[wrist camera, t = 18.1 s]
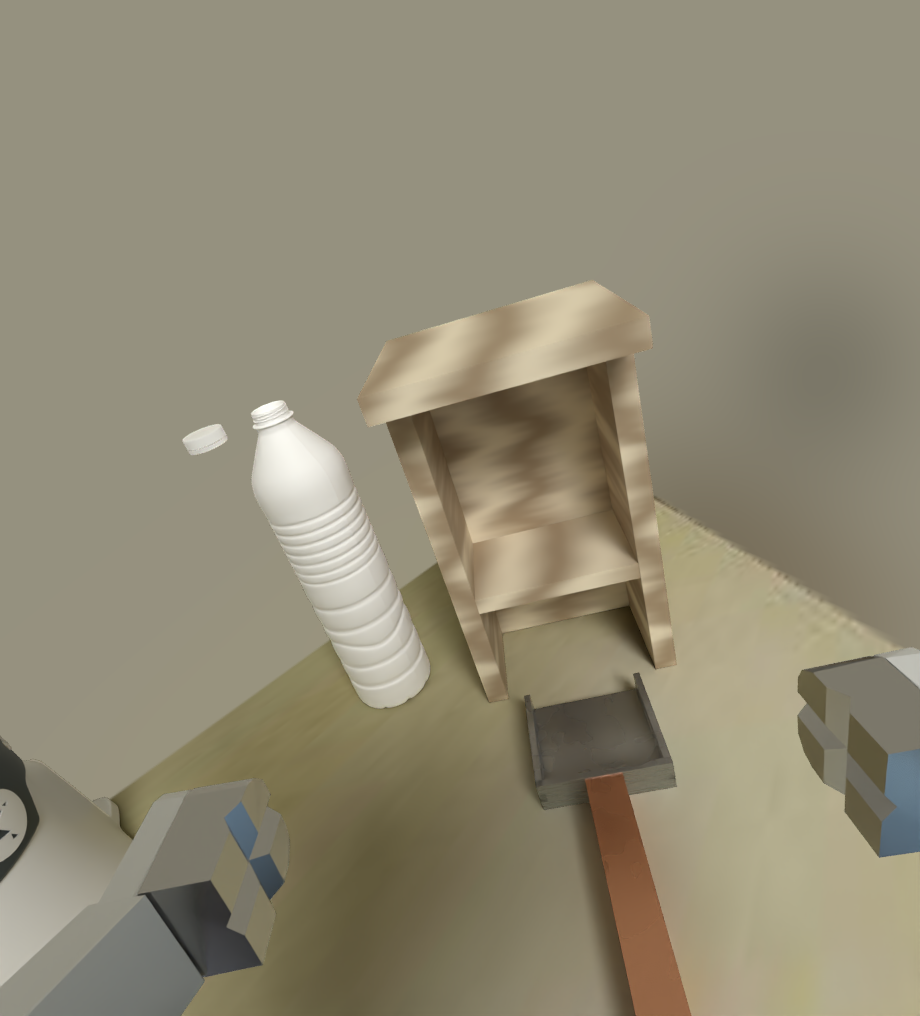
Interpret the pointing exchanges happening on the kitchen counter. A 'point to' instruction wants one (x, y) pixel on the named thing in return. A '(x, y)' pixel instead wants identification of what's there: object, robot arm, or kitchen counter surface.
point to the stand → (530, 465)
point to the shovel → (615, 820)
